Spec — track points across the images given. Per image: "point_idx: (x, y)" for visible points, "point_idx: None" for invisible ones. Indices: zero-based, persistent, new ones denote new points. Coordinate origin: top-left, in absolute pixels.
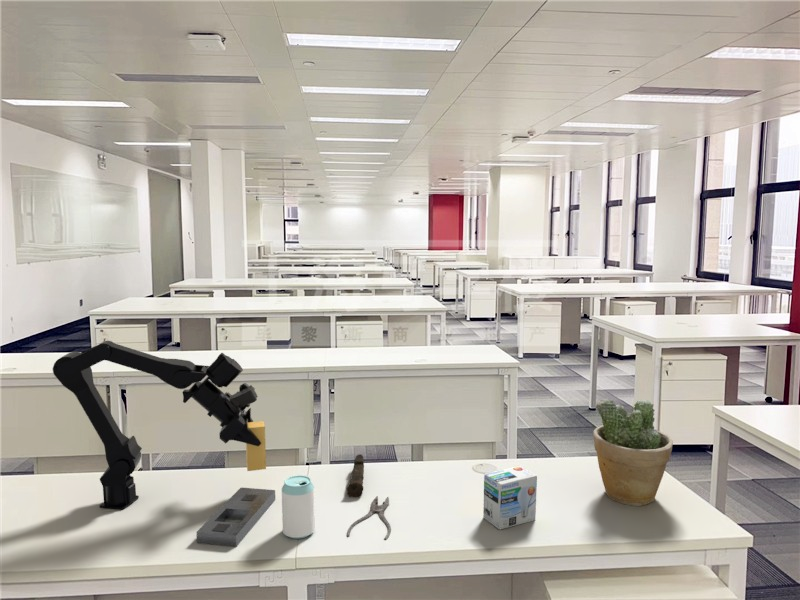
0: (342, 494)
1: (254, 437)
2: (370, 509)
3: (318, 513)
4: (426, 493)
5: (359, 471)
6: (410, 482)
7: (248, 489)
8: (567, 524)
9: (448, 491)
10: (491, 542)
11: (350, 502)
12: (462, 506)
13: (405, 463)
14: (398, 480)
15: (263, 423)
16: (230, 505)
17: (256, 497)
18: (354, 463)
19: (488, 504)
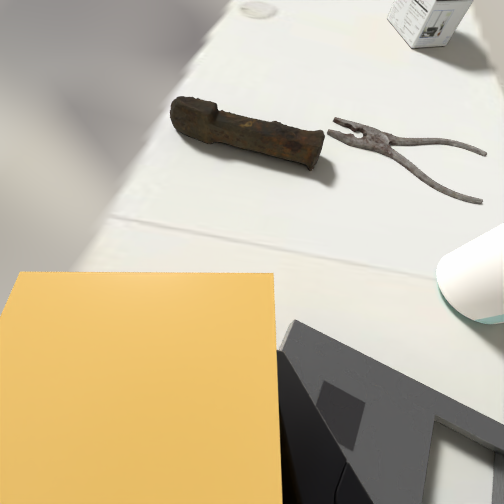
0: (297, 179)
1: (320, 424)
2: (382, 149)
3: (380, 235)
4: (324, 76)
5: (255, 120)
6: (277, 82)
7: None
8: None
9: (323, 55)
10: (478, 60)
11: (337, 173)
12: (375, 56)
13: (195, 71)
14: (263, 93)
15: (131, 280)
16: (394, 502)
17: (338, 387)
18: (208, 119)
19: (441, 16)
